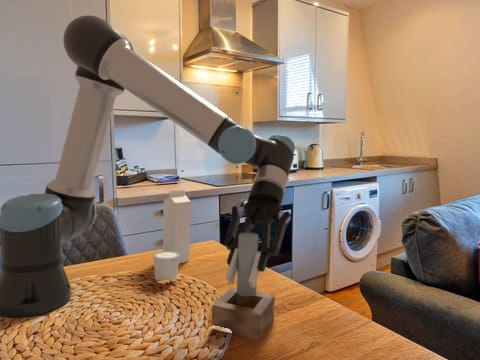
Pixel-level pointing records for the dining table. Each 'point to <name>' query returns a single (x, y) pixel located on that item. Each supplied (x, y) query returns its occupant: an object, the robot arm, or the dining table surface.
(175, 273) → the grey and white cylinder
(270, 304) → the socket
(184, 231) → the milk
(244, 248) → the grey cylinder
